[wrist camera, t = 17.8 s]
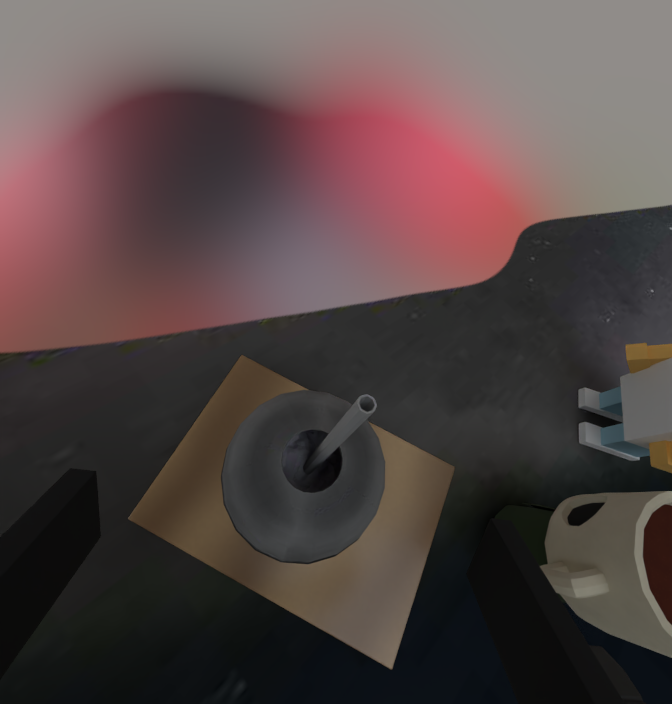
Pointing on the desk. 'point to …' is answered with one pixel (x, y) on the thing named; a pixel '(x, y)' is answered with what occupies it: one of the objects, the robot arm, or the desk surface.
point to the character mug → (607, 560)
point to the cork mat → (320, 577)
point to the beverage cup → (304, 475)
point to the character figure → (635, 409)
